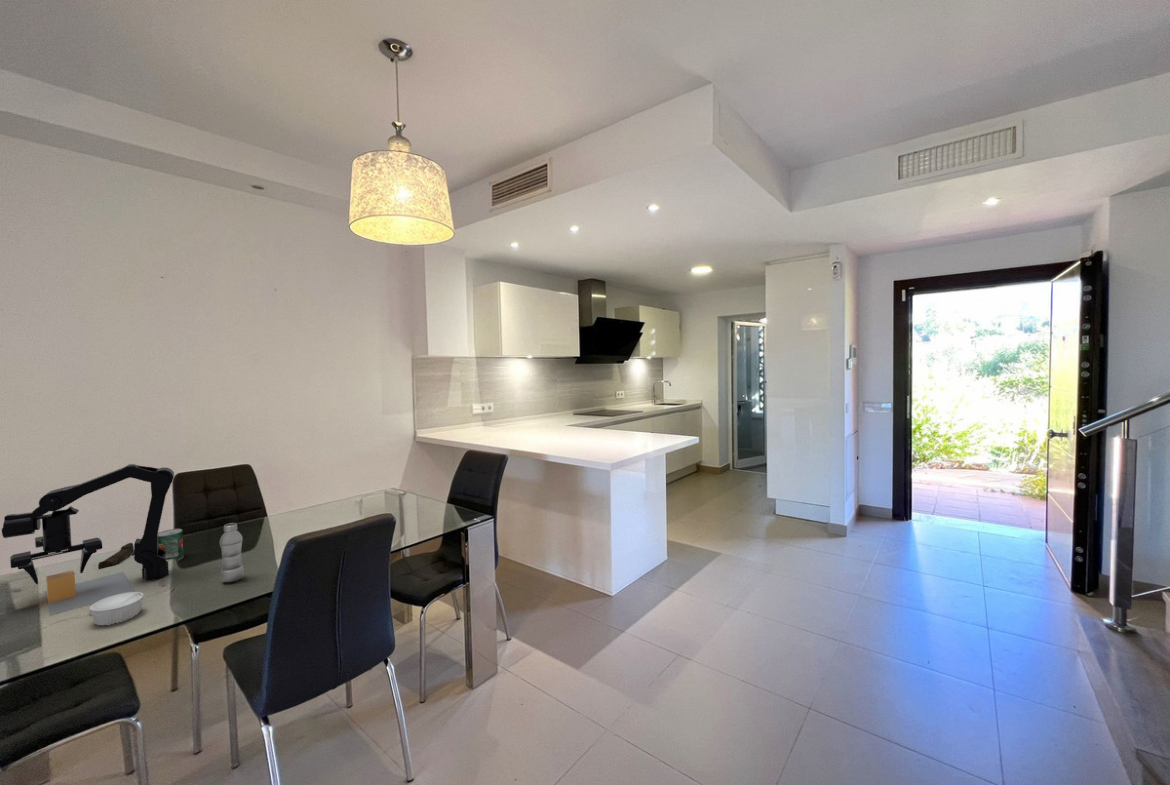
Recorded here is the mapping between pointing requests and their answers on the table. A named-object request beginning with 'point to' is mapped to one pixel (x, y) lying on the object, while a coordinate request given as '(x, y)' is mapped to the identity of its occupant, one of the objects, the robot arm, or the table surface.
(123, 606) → the ramekin
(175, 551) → the canned tomato
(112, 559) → the hand tool
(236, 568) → the plastic bottle
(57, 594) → the orange cardboard-tone cube
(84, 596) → the flat grey board
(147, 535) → the robot arm
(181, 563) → the table surface
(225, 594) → the table surface
